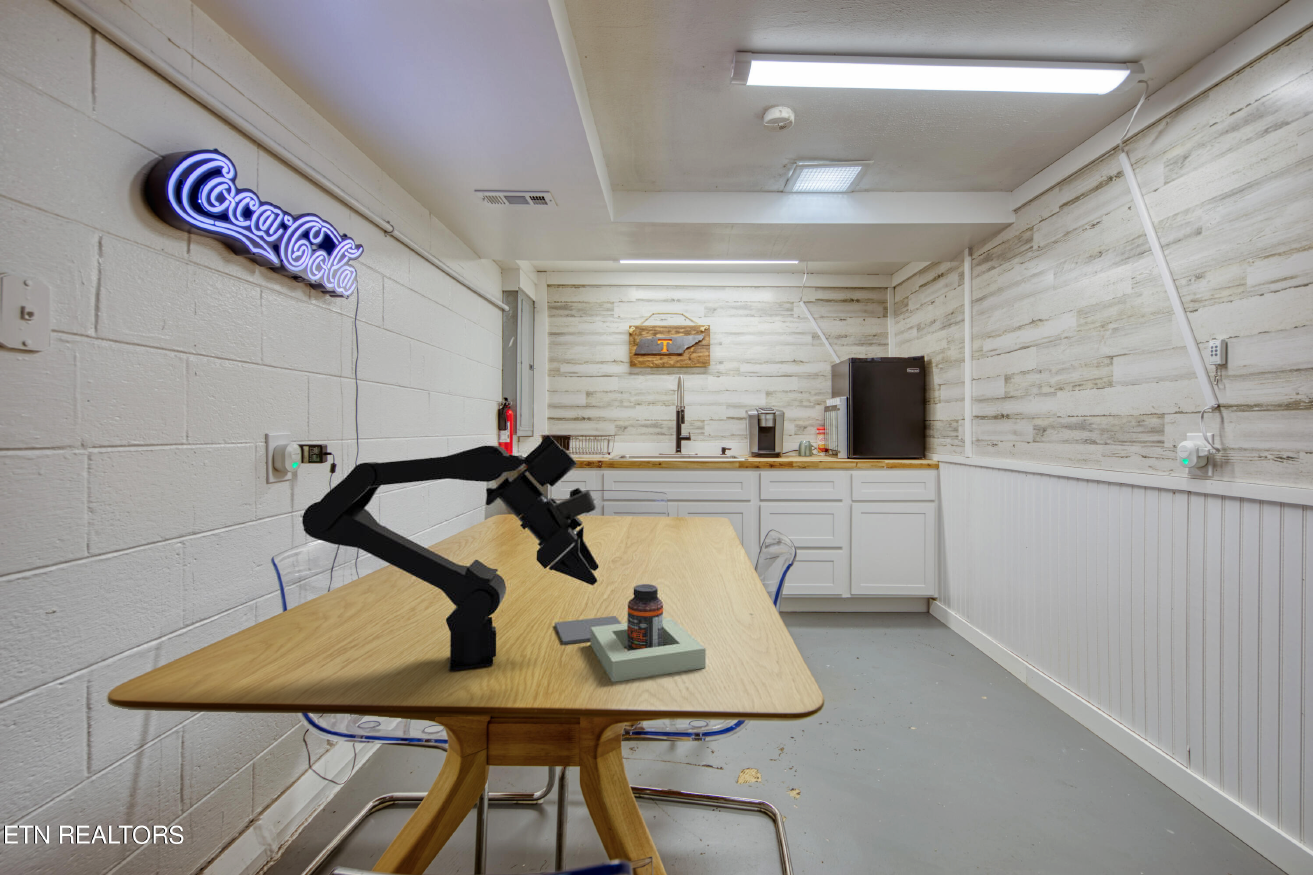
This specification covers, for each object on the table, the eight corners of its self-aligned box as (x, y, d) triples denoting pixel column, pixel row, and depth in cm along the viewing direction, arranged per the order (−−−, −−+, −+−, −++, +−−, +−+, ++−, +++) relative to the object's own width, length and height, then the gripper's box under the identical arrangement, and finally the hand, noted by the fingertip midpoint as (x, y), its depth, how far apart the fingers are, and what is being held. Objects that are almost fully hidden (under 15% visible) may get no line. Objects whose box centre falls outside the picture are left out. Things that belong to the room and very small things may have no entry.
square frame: (612, 682, 75) (612, 661, 75) (590, 644, 89) (590, 627, 89) (705, 667, 80) (705, 648, 80) (670, 634, 94) (670, 617, 94)
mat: (563, 644, 89) (563, 641, 89) (554, 625, 98) (554, 622, 98) (629, 636, 93) (629, 632, 93) (615, 618, 102) (615, 615, 102)
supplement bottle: (620, 658, 83) (620, 588, 83) (638, 645, 88) (638, 580, 88) (652, 666, 80) (652, 593, 80) (669, 652, 85) (669, 584, 86)
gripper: (563, 476, 75) (635, 553, 75) (572, 470, 93) (630, 532, 94) (505, 528, 74) (578, 606, 74) (526, 512, 92) (585, 574, 93)
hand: (596, 575), depth 84 cm, fingers open, 9 cm apart
